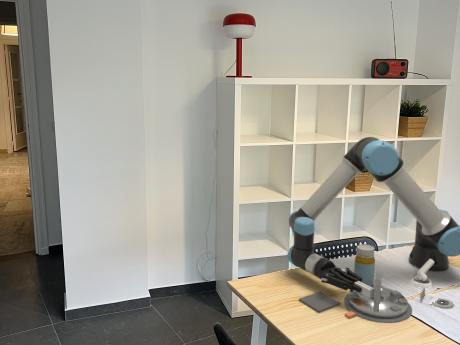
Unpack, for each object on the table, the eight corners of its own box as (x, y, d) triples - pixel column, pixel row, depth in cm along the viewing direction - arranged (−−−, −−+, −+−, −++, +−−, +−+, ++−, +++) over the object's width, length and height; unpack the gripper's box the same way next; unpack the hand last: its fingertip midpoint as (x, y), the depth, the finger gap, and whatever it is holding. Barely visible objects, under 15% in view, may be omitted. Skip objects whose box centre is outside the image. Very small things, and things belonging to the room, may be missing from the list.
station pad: (320, 293, 160) (320, 291, 160) (340, 304, 151) (340, 302, 151) (298, 300, 154) (298, 298, 154) (318, 313, 146) (319, 310, 146)
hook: (450, 273, 163) (440, 266, 160) (428, 297, 165) (417, 291, 162) (436, 262, 170) (426, 254, 166) (415, 285, 172) (405, 278, 168)
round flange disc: (351, 287, 163) (353, 254, 160) (407, 296, 156) (410, 261, 153) (345, 312, 145) (347, 275, 143) (407, 323, 139) (410, 284, 136)
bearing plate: (373, 285, 166) (373, 284, 166) (426, 310, 147) (426, 309, 147) (330, 300, 154) (330, 299, 154) (382, 330, 136) (382, 329, 136)
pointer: (351, 313, 146) (351, 310, 145) (355, 316, 144) (355, 313, 144) (344, 316, 144) (344, 313, 144) (349, 319, 142) (349, 316, 142)
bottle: (359, 279, 171) (361, 242, 168) (376, 285, 166) (379, 247, 163) (350, 285, 166) (352, 247, 163) (367, 291, 161) (369, 252, 158)
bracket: (452, 311, 147) (452, 301, 147) (419, 303, 153) (420, 294, 152) (454, 303, 153) (455, 294, 152) (423, 296, 158) (424, 287, 158)
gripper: (333, 272, 167) (385, 298, 147) (306, 281, 160) (356, 309, 140) (334, 254, 165) (386, 277, 145) (306, 261, 158) (357, 287, 138)
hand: (371, 293), depth 143 cm, fingers closed
